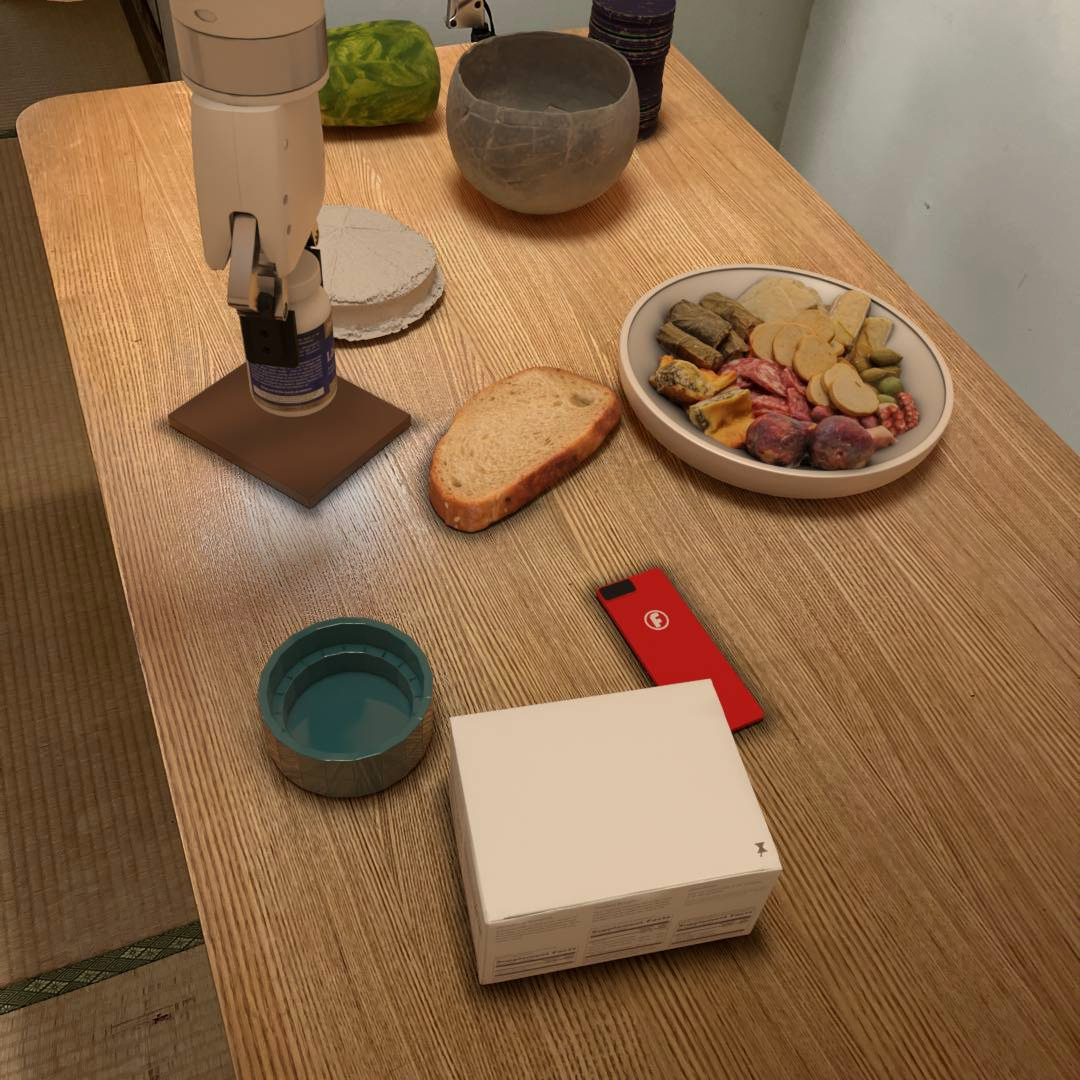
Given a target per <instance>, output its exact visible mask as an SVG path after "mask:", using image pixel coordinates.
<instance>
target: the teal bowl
mask: <svg viewBox="0 0 1080 1080" xmlns="http://www.w3.org/2000/svg"><path fill="white" fill-rule="evenodd" d="M256 696H257V697H256V698H257V702H258V705H259V712H260V716H261V720H262V725H263V729H264V734H265V738H266V743H267V747H268V753H269V755H270V757H271V759H272V760H273V762H274V763H275V765H276V766H277V768H278V769H279V770H280V772H281V774H283V776H285V778H287V779H288V780H290V781H291V782H292V783H294V784H295V785H297V786H298V787H300V788H301V789H303V790H306V791H309V792H311V793H315V794H319V795H322V796H325V797H329V798H359V797H363V796H366V795H370V794H373V793H378V792H380V791H381V792H382V791H384V790H386V789H387V788H389V787H391V786H392V785H394V784H395V783H397V782H399V781H400V780H402V779H403V778H405V777H406V776H408V775H409V773H410V772H411V771H412V770H413V769H414V768H415V767H416V765H417V764H418V763H419V762H420V761H421V760H422V758H424V755H425V754H426V751H427V749H428V746H429V743H430V741H431V739H432V737H433V728H434V674H433V671H432V669H431V665H430V662H429V660H428V657H427V655H426V653H425V652H424V651H423V649H422V648H421V647H420V646H419V644H417V643H416V641H415V640H414V639H413V638H412V637H411V636H410V635H408V634H407V633H406V632H404V631H402V630H401V629H399V628H398V627H396V626H394V625H393V624H390V623H387V622H384V621H379V620H376V619H372V618H369V617H359V616H358V617H356V616H341V617H340V616H339V617H334V618H330V619H326V620H322V621H321V620H320V621H317V622H313V623H312V624H310V625H308V626H306V627H304V628H302V629H300V630H299V631H296V632H294V633H293V634H291V635H290V636H289V637H288V638H287V639H285V640H284V641H283V642H282V643H281V644H280V645H279V646H278V647H276V648H275V649H274V650H273V651H272V652H271V655H270V656H269V658H268V660H267V661H266V664H265V665H264V667H263V668H262V671H261V672H260V677H259V682H258V688H257V693H256Z"/></svg>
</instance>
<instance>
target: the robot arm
mask: <svg viewBox="0 0 1080 1080" xmlns="http://www.w3.org/2000/svg"><path fill="white" fill-rule="evenodd" d="M48 1H50V2H64V3H65V2H67V3H68V2H70V3H71V2H79V1H81V2H82V0H48ZM168 2H169V8H170V14H171V20H172V26H173V31H174V38H175V44H176V49H177V56H178V62H179V69H180V73H181V79H182V81H183V83H184V84H185V86H186V87H187V88H188V89H189V90H190V91H192V94H191V96H190V97H191V98H190V132H191V133H190V134H191V153H192V164H193V165H192V166H193V177H194V185H195V186H194V187H195V193H196V203H197V210H198V211H197V212H198V221H199V227H200V235H201V242H202V249H203V255H204V260H205V263H206V265H207V266H208V268H209V269H210V270H212V271H225V269H226V267H227V265H228V263H229V270H228V282H227V291H226V300H227V301H226V302H227V306H229V307H230V308H232V309H235V310H236V314H237V316H238V317H239V316H240V320H239V323H240V322H241V326H240V329H241V328H242V332H241V335H242V334H243V339H242V342H243V341H244V345H243V348H244V347H245V352H244V355H245V354H246V359H247V361H248V362H250V363H252V364H259V365H267V366H275V367H284V368H292V369H294V368H297V366H298V364H299V362H300V354H299V345H298V336H297V327H296V318H295V311H293V310H288V274H289V273H290V272H291V271H293V269H294V268H295V266H296V264H297V262H298V260H299V258H300V256H301V254H302V252H303V249H305V250H307V251H309V252H311V253H312V254H313V255H314V256H315V257H316V258H317V260H318V261H319V265H320V273H321V284H320V286H322V287H323V276H322V264H321V252H320V249H313V248H311V246H312V247H317V246H318V243H319V228H318V224H317V217H318V215H319V212H320V209H321V207H322V205H324V200H325V194H326V185H327V183H326V180H327V179H326V177H327V176H326V155H325V145H324V144H325V143H324V133H323V126H322V122H321V113H320V105H319V97H318V91H319V90H320V89H321V88H323V86H324V85H325V84H326V83H327V80H328V79H329V58H328V43H327V29H328V28H327V15H326V8H325V0H168ZM260 253H265V255H266V256H267V258H268V260H269V261H270V262H268V261H259V257H260ZM258 276H265V277H274V297H273V296H272V295H270V294H269V293H267V292H261V291H260V290H259V289H258V286H257V277H258ZM323 289H324V288H323ZM246 359H245V360H246Z"/></svg>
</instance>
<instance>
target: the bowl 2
mask: <svg viewBox="0 0 1080 1080" xmlns="http://www.w3.org/2000/svg"><path fill="white" fill-rule="evenodd" d="M617 366H618V374H619V380H620V382H621V386H622V389H623V392H624V394H625V397H626V399H627V402H628V403H629V406H630V407H631V409H632V410H633V413H634V414H635V416H636V417H637V418H638V420H639V421H640V423H641V424H642V425H643V427H645V429H646V430H647V431H648V432H649V433H650V434H651V436H652V437H653V438H654V439H655V440H656V441H657V442H659V444H661V445H662V446H663V447H664V448H665V449H667V450H668V451H669V452H670V453H671V454H673V455H674V456H676V457H677V458H678V459H680V460H681V461H682V462H684V463H686V464H687V465H688V466H690V467H692V468H694V469H696V470H698V471H700V473H703V474H705V475H707V476H709V477H711V478H713V479H715V480H718V481H721V482H723V483H726V484H728V485H731V486H734V487H737V488H740V489H743V490H746V491H750V492H753V493H758V494H761V495H762V494H763V495H767V496H772V497H778V498H779V497H781V498H788V499H798V500H799V499H800V500H801V499H803V500H820V499H821V500H823V499H835V498H842V497H848V496H853V495H858V494H862V493H866V492H870V491H872V490H875V489H877V488H881V487H883V486H885V485H888V484H890V483H892V482H894V481H896V480H898V479H899V478H902V477H903V476H904V475H906V474H908V473H909V472H910V471H912V470H913V469H914V468H916V467H917V466H918V465H920V463H921V462H923V461H924V460H925V459H926V458H927V456H928V455H930V453H931V452H932V451H933V450H934V449H935V447H936V446H937V444H938V443H939V442H940V440H941V438H942V436H943V434H944V433H945V431H946V428H947V427H948V424H949V423H950V420H951V418H952V414H953V410H954V402H955V390H954V384H953V379H952V375H951V373H950V370H949V367H948V365H947V363H946V361H945V359H944V357H943V355H942V354H941V352H940V350H939V349H938V348H937V346H936V344H934V342H933V341H932V340H931V338H930V337H929V336H928V335H927V334H926V333H925V332H924V331H923V330H922V328H921V327H919V325H917V324H916V323H915V322H914V321H912V320H911V319H910V318H909V316H907V315H905V314H904V313H903V312H901V311H900V310H898V309H897V308H896V307H894V306H893V305H891V304H890V303H888V302H887V301H885V300H883V299H882V298H880V297H878V296H876V295H875V294H872V293H870V292H868V291H867V290H865V289H862V288H859V287H858V286H855V285H853V284H851V283H848V282H845V281H843V280H840V279H837V278H835V277H832V276H829V275H825V274H821V273H818V272H814V271H810V270H806V269H803V268H797V267H792V266H791V267H790V266H785V265H777V264H767V263H727V264H725V263H724V264H717V265H711V266H705V267H700V268H696V269H692V270H689V271H686V272H682V273H679V274H677V275H674V276H672V277H670V278H667V279H665V280H663V281H662V282H660V283H658V284H656V285H655V286H653V287H651V288H650V289H648V291H646V292H645V293H644V294H643V295H642V296H641V297H640V298H638V300H636V302H635V303H634V304H633V306H631V308H630V309H629V311H628V313H627V315H626V317H625V318H624V321H623V323H622V326H621V329H620V334H619V340H618V350H617Z"/></svg>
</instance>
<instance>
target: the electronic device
mask: <svg viewBox="0 0 1080 1080" xmlns="http://www.w3.org/2000/svg"><path fill="white" fill-rule="evenodd" d="M595 595H596V597H597V599H598V601H599V602H600V604H601V605H602V607H603V608H604V609H605V611H606V612H607V614H608V615H609V617H610V618H611V620H612V621H613V623H614V624H615V626H616V627H617V629H618V630H619V632H620V633H621V635H622V636H623V638H624V640H625V641H626V643H627V644H628V646H629V648H630V649H631V650H632V653H634V655H635V656H636V658H637V659H638V661H639V663H640V664H641V665H642V668H643V669H644V670H645V672H646V673H647V675H648V676H649V678H650V679H651V681H652V682H653V684H654V685H655V687H658V686H665V685H671V684H678V683H685V682H691V681H698V680H705V679H711V681H712V684H713V686H714V689H715V691H716V694H717V696H718V698H719V701H720V704H721V706H722V709H723V712H724V715H725V717H726V720H727V723H728V725H729V728H730V730H731V733H733V732H736V731H738V730H740V729H743V728H745V727H747V726H749V725H752V724H754V723H757V722H759V721H761V720H762V719H763V718H764V715H765V713H764V710H763V709H762V707H761V706H760V705H759V703H758V702H757V700H756V699H755V697H754V696H753V695H752V693H751V691H749V689H748V688H747V686H746V684H744V683H743V681H742V680H741V678H740V677H739V675H738V674H737V673H736V671H735V670H734V669H733V667H732V665H731V664H730V663H729V662H728V660H727V659H726V657H725V656H724V654H723V653H722V651H720V649H719V648H718V646H717V645H716V643H715V642H714V641H713V639H712V638H711V637H710V635H709V634H708V632H707V631H706V630H705V628H704V627H703V626H702V624H701V623H700V621H699V620H698V619H697V617H696V616H695V615H694V613H693V611H692V610H691V609H690V608H689V606H688V605H687V603H686V601H684V599H683V598H682V596H681V595H680V594H679V592H678V591H677V589H676V588H675V587H674V585H673V584H672V583H671V581H670V580H669V577H667V576H666V574H665V573H664V571H663V570H662V569H661V568H659V567H654V568H650V569H648V570H645V571H642V572H639V573H637V574H634V575H631V576H627V577H625V578H622V579H619V580H616V581H613V582H611V583H607V584H604V585H602V586H599V587H597V588H596V592H595Z"/></svg>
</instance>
